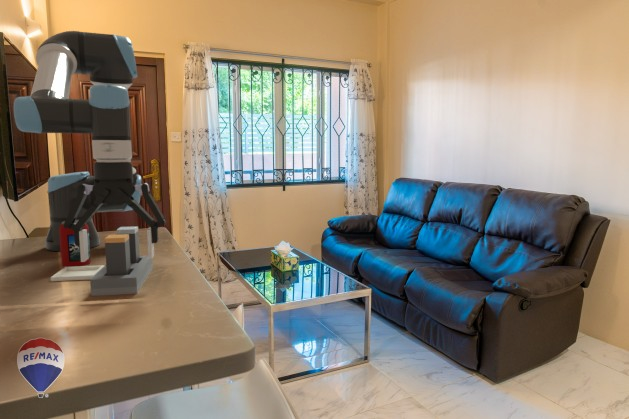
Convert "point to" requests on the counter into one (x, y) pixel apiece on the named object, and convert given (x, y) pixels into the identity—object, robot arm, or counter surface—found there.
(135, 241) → the twin plug
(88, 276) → the tray
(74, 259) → the beverage can
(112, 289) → the grey socket block
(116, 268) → the plug
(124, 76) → the robot arm
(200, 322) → the counter surface
